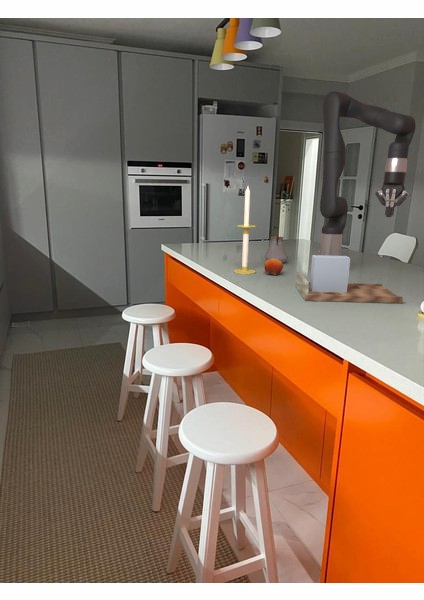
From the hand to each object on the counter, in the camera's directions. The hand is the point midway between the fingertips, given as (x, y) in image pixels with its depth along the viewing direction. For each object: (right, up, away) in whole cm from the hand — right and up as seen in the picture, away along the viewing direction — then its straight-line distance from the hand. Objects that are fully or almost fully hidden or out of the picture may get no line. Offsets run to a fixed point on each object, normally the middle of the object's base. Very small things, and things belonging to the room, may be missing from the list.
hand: (388, 216), depth 166 cm
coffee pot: (-38, -15, +42) cm, 59 cm away
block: (-29, -29, -17) cm, 44 cm away
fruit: (-43, -22, +17) cm, 51 cm away
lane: (-22, -31, -16) cm, 41 cm away
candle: (-55, -20, +22) cm, 63 cm away
